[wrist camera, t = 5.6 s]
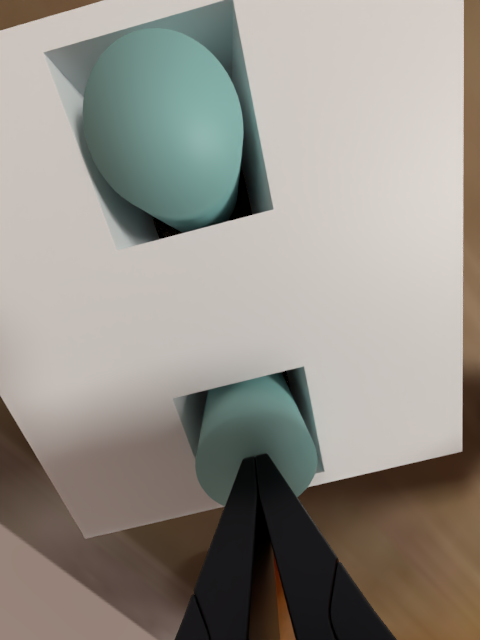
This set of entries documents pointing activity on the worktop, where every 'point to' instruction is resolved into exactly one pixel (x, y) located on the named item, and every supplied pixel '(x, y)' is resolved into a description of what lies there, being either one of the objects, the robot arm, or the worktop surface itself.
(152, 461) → the socket board
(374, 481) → the worktop surface
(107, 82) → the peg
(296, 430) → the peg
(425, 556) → the worktop surface
